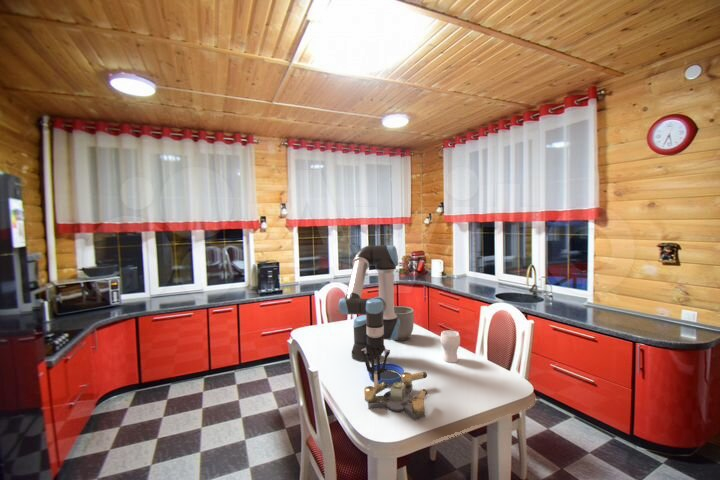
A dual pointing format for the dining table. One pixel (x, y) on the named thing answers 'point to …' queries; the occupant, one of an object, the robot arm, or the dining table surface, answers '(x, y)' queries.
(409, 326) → the planter
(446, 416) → the dining table surface
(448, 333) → the cup
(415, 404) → the brass lever handle
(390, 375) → the bowl
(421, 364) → the dining table surface
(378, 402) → the tribrach
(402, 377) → the brass tap handle
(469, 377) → the dining table surface
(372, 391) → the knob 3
